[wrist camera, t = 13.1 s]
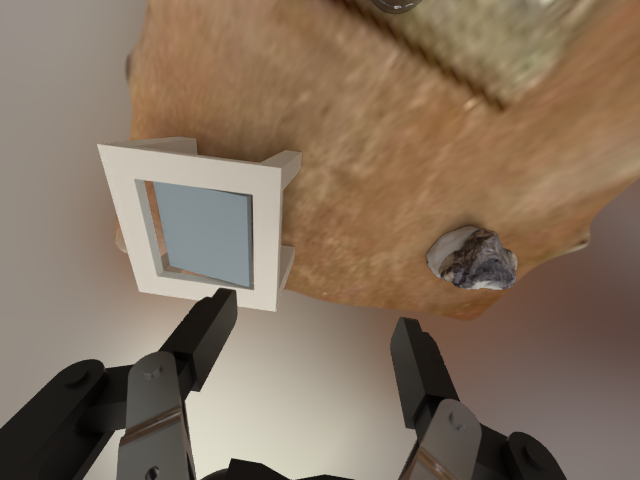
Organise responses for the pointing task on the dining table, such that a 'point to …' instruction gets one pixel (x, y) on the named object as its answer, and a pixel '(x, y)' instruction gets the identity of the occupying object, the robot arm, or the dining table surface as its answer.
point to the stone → (473, 259)
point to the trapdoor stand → (212, 173)
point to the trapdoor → (207, 231)
